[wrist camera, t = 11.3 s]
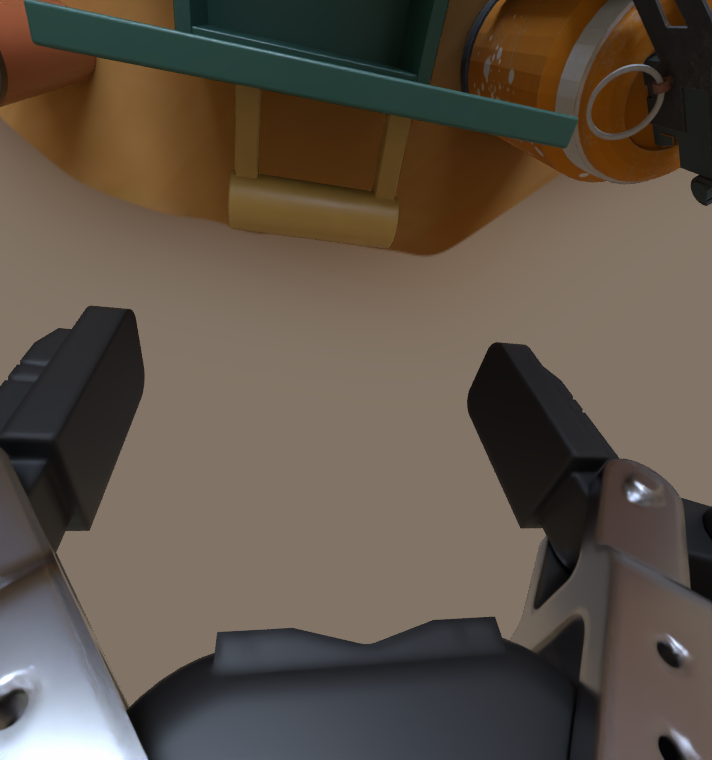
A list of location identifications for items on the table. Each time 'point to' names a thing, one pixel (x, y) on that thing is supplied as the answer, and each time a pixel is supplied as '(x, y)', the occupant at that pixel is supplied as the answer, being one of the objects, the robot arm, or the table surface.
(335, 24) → the chest
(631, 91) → the canister
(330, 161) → the table surface
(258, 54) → the lid
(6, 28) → the jar
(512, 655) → the robot arm
